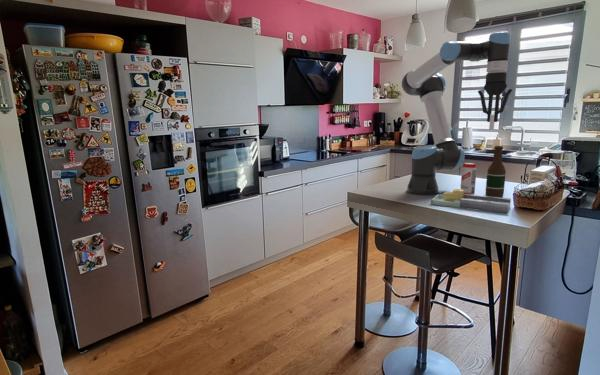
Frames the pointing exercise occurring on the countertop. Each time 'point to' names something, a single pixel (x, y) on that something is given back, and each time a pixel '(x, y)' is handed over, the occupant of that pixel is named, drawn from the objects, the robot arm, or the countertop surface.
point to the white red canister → (468, 178)
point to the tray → (440, 201)
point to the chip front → (458, 194)
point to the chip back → (448, 196)
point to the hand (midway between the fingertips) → (491, 129)
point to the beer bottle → (496, 175)
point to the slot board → (485, 203)
